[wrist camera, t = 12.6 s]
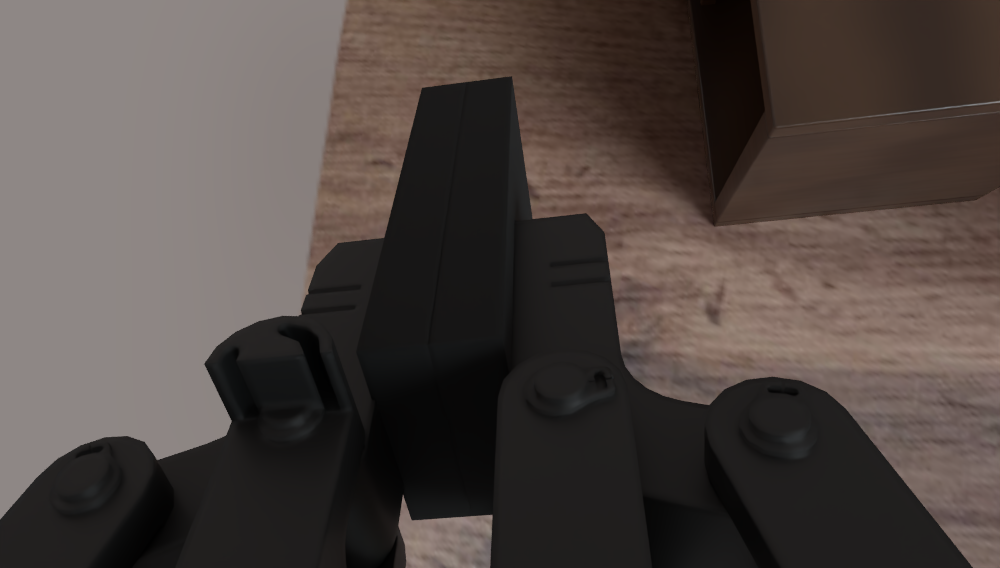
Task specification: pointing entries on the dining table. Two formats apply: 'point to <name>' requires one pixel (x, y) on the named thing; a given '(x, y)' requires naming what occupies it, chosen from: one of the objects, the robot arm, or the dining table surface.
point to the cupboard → (846, 104)
